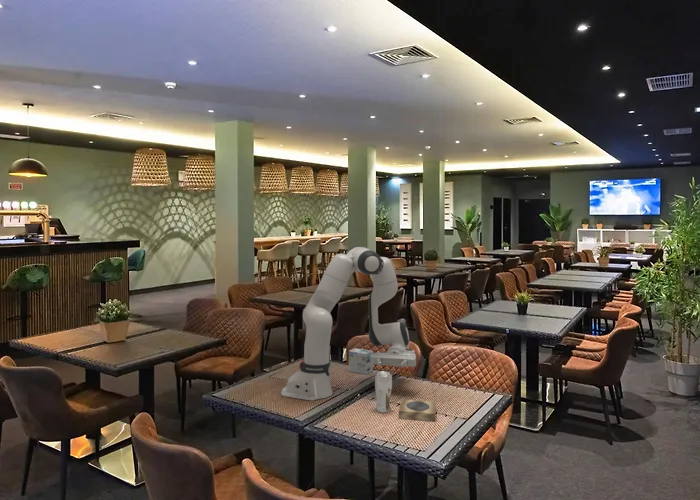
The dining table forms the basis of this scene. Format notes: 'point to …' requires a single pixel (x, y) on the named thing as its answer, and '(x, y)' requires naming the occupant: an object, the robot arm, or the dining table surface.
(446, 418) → the dining table surface
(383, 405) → the beer glass
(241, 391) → the dining table surface
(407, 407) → the brass stand
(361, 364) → the light bulb box
